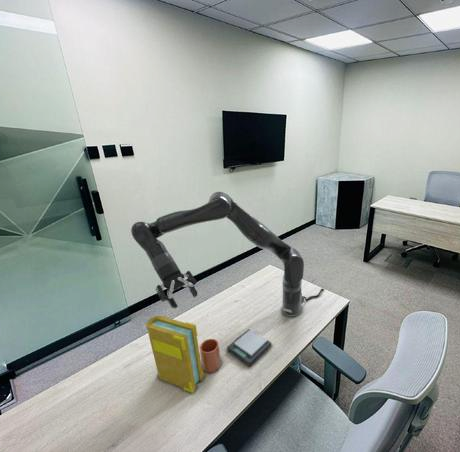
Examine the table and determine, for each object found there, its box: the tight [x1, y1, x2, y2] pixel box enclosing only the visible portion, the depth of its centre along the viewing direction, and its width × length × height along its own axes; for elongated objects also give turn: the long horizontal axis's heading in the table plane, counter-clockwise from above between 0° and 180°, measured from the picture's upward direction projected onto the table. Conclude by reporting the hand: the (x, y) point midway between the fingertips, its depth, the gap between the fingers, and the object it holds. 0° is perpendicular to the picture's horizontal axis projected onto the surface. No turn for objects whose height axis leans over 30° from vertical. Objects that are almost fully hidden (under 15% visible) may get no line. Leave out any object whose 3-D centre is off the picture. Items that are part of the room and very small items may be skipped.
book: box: [145, 315, 205, 394], centre depth 95 cm, size 17×7×25 cm, turn 71°
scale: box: [226, 328, 272, 367], centre depth 112 cm, size 13×13×3 cm
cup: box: [199, 338, 222, 373], centre depth 103 cm, size 7×7×10 cm
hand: (186, 301), depth 102 cm, fingers open, 8 cm apart
